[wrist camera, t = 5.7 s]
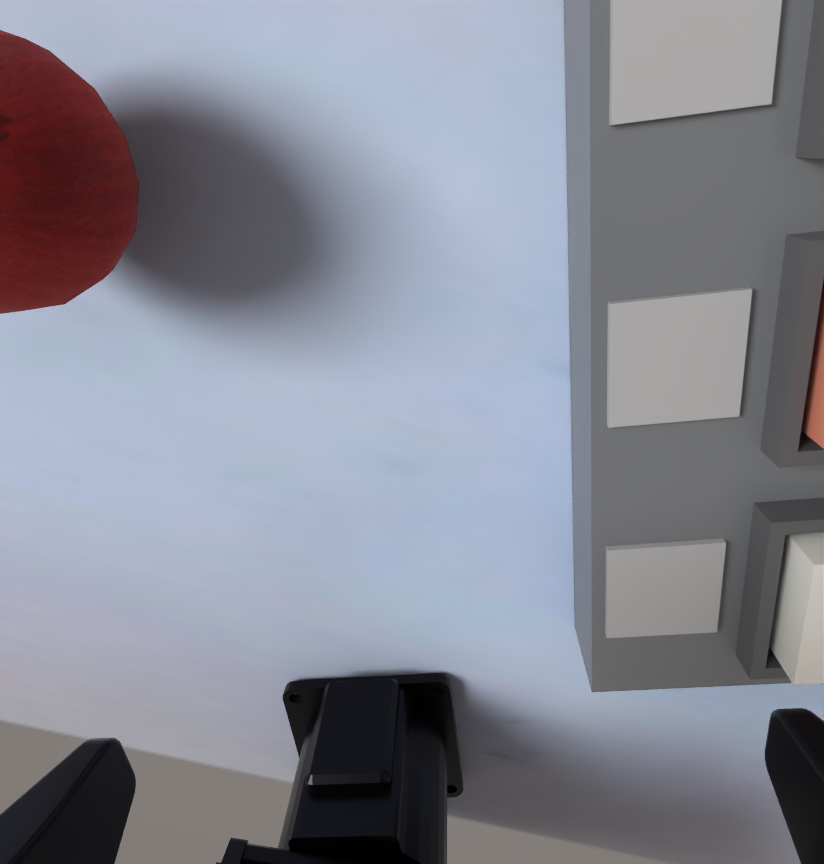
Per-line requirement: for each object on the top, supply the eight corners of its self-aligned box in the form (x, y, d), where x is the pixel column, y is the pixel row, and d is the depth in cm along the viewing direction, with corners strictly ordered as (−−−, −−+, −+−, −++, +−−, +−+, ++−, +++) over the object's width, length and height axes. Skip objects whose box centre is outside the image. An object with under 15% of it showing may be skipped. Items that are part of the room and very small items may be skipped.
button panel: (928, 606, 22) (1024, 700, 18) (574, 626, 23) (598, 717, 19) (1167, -257, 13) (1455, -417, 9) (561, -152, 14) (601, -254, 10)
